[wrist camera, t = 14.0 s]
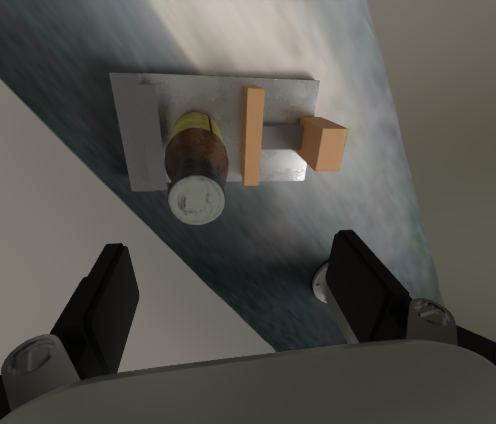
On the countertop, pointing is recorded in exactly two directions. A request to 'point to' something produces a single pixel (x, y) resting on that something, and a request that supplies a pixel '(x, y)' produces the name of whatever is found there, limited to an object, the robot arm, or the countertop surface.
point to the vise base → (213, 104)
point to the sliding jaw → (287, 138)
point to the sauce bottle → (196, 169)
